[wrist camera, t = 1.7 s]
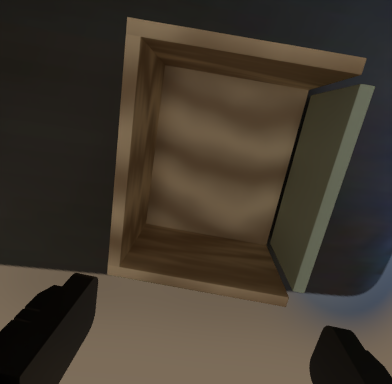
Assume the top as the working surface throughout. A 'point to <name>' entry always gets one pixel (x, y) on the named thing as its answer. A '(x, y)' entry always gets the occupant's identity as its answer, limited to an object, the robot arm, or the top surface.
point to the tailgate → (317, 178)
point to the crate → (208, 155)
